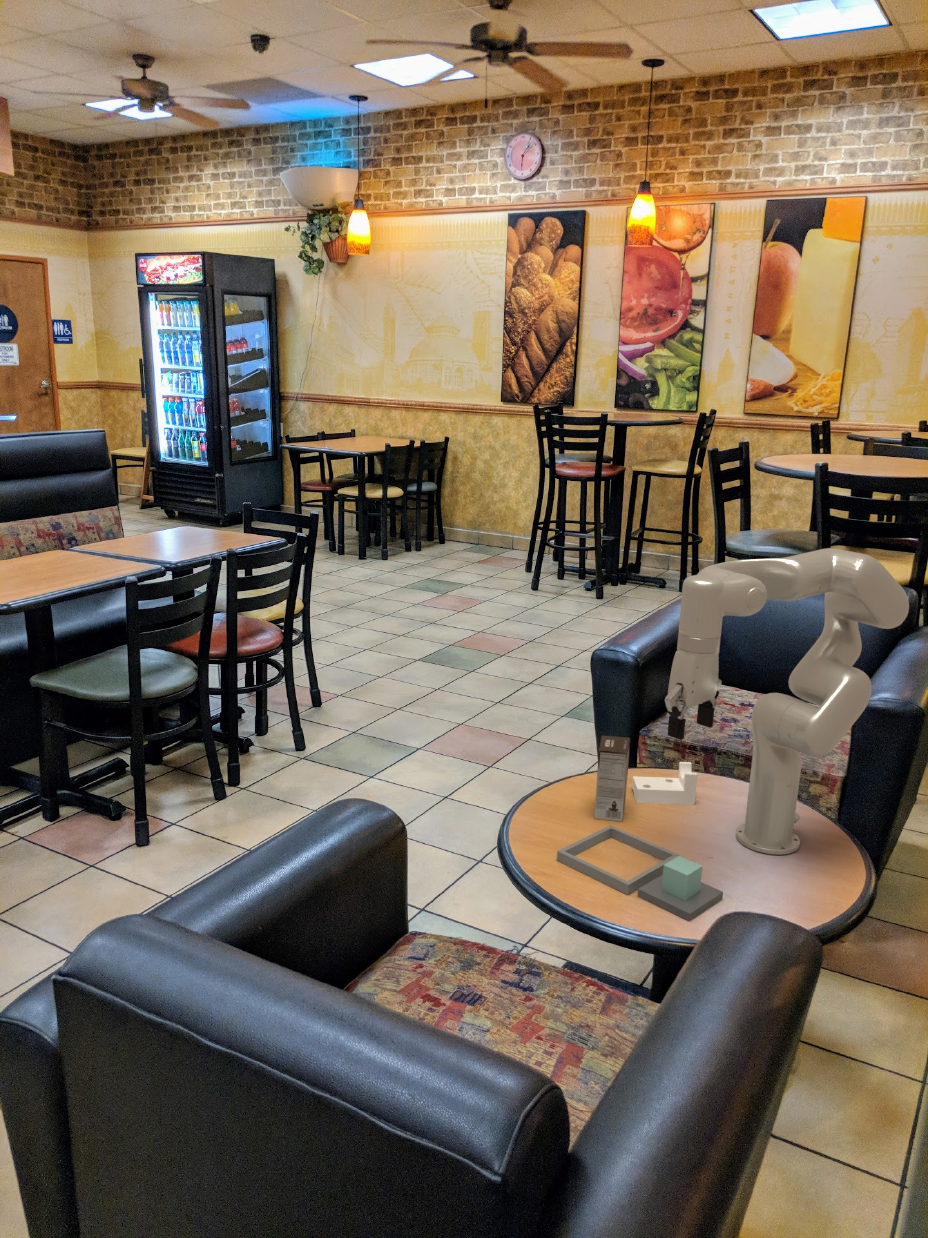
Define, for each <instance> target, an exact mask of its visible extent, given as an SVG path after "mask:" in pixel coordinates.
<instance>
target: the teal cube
mask: <svg viewBox="0 0 928 1238" xmlns="http://www.w3.org/2000/svg"><path fill="white" fill-rule="evenodd" d="M702 873H703V865H702V864H698V863H696V862H694V861H692V860H689V859H687V858H685V857H682V856H681V855H680V856H678V857H676V858H675V859H673V860H671V861H669V862H668V863H666V864H664V866H663V874H662V875H663V877H662V888H661V890H663V891H665V892H667V893H670V894H672V895H674V896H676V897H678V898H680V899H683V900H687V899H688V898H690V897H691V896H693V895H694V894H696V893H697V892H699V891H700V886H701V882H702V875H703V874H702Z"/></svg>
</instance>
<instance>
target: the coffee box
mask: <svg viewBox="0 0 928 1238" xmlns="http://www.w3.org/2000/svg"><path fill="white" fill-rule="evenodd" d="M630 746H631V738H630V737H625V736H624V737H623V736H613V735H601V737H600V742H599V748H598V759H597V774H596V787H595V788H596V789H595V801H594V819H595V820H605V821H613V822H620V823H621V822H624V816H625V808H626V799H627V798H626V797H627V786H628V776H629V775H628V774H629V772H628V771H629V761H630V760H629V759H630Z"/></svg>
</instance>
